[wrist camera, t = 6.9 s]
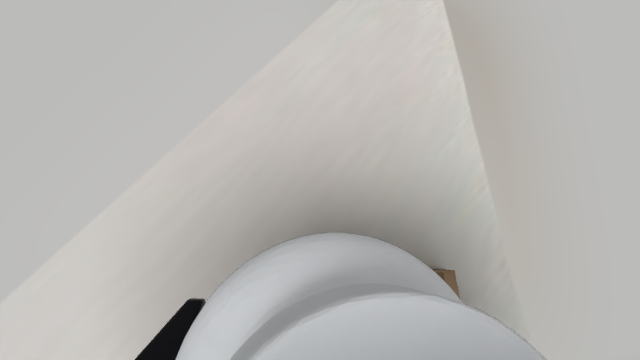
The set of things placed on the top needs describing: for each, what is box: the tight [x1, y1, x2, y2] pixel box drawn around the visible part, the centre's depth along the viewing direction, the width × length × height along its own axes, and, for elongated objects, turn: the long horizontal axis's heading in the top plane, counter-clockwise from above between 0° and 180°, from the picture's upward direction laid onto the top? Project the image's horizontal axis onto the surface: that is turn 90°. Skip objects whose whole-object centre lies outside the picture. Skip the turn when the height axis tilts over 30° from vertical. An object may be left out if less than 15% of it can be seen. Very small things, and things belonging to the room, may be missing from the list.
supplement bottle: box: [176, 233, 546, 360], centre depth 9 cm, size 7×7×13 cm
